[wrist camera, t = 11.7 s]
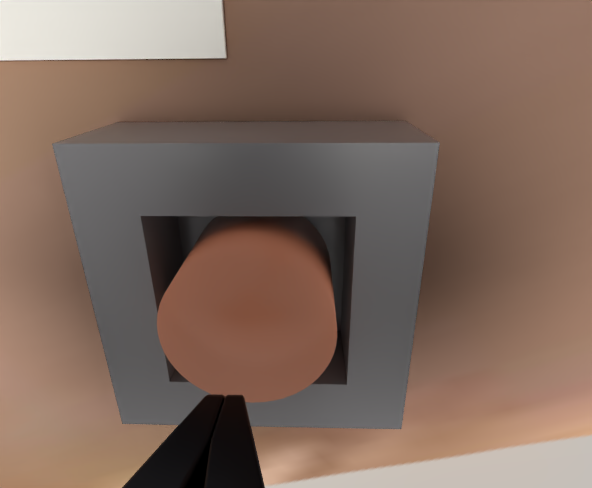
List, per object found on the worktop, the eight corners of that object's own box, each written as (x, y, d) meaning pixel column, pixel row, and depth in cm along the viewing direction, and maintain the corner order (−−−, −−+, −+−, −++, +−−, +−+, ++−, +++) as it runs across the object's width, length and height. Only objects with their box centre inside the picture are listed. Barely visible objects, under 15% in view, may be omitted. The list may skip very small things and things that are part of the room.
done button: (332, 202, 14) (340, 254, 10) (328, 325, 16) (334, 403, 12) (186, 202, 14) (143, 253, 10) (201, 323, 16) (169, 401, 12)
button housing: (405, 120, 14) (439, 142, 10) (383, 354, 18) (401, 429, 14) (117, 122, 14) (52, 143, 11) (159, 351, 18) (122, 423, 15)
